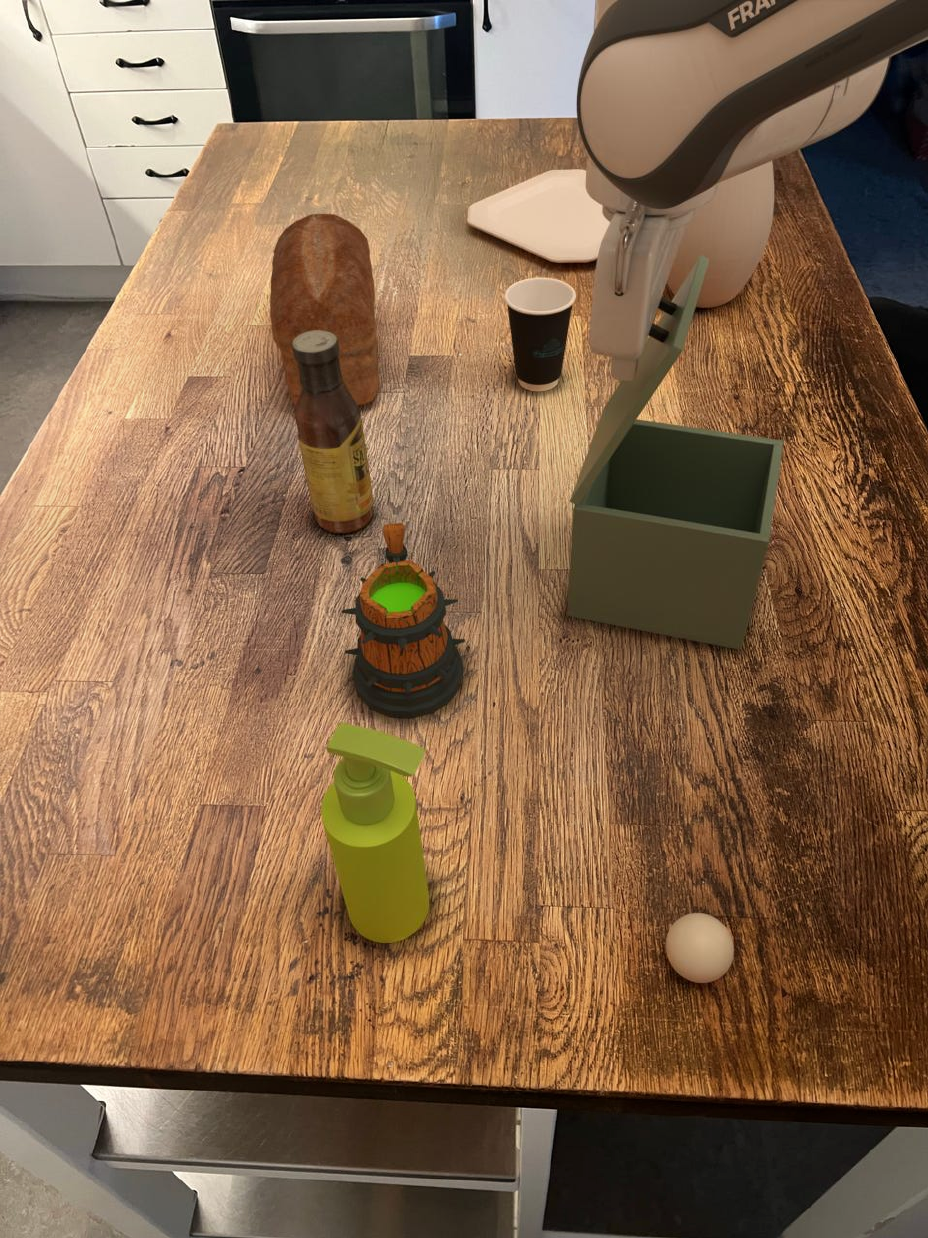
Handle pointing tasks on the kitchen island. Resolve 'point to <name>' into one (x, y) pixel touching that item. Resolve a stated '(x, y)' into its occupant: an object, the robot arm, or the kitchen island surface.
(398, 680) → the mug
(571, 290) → the dixie cup
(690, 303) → the bin lid
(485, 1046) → the kitchen island surface
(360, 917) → the soap dispenser
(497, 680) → the kitchen island surface
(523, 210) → the plate
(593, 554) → the bin
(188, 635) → the kitchen island surface
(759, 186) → the vase
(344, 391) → the sauce bottle
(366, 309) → the bread
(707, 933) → the beige ball
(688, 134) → the robot arm
